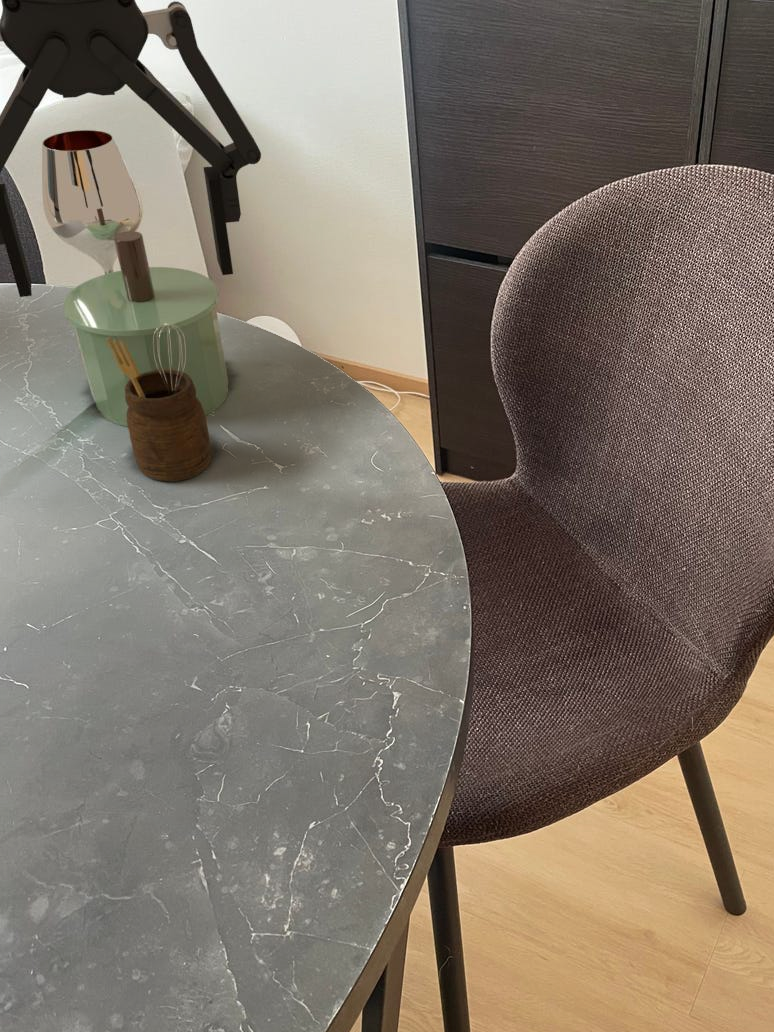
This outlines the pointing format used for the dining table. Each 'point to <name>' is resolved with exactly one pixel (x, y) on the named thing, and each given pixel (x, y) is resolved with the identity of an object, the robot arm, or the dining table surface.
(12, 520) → the dining table surface
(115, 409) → the pot
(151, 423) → the utensil holder
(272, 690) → the dining table surface
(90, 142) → the wineglass
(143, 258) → the pot lid
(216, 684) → the dining table surface
